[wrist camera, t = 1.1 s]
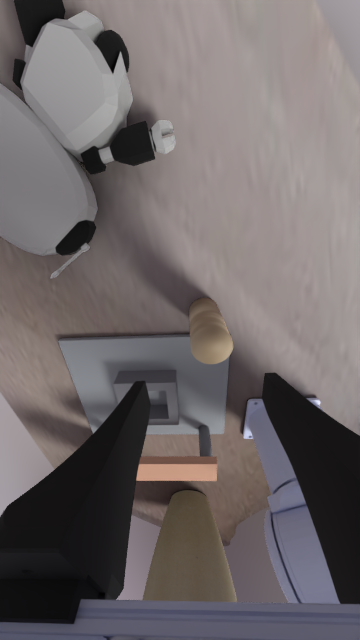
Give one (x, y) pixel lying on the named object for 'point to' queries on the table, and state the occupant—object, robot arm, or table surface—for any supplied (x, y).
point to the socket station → (154, 393)
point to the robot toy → (65, 129)
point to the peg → (208, 332)
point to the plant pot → (189, 555)
